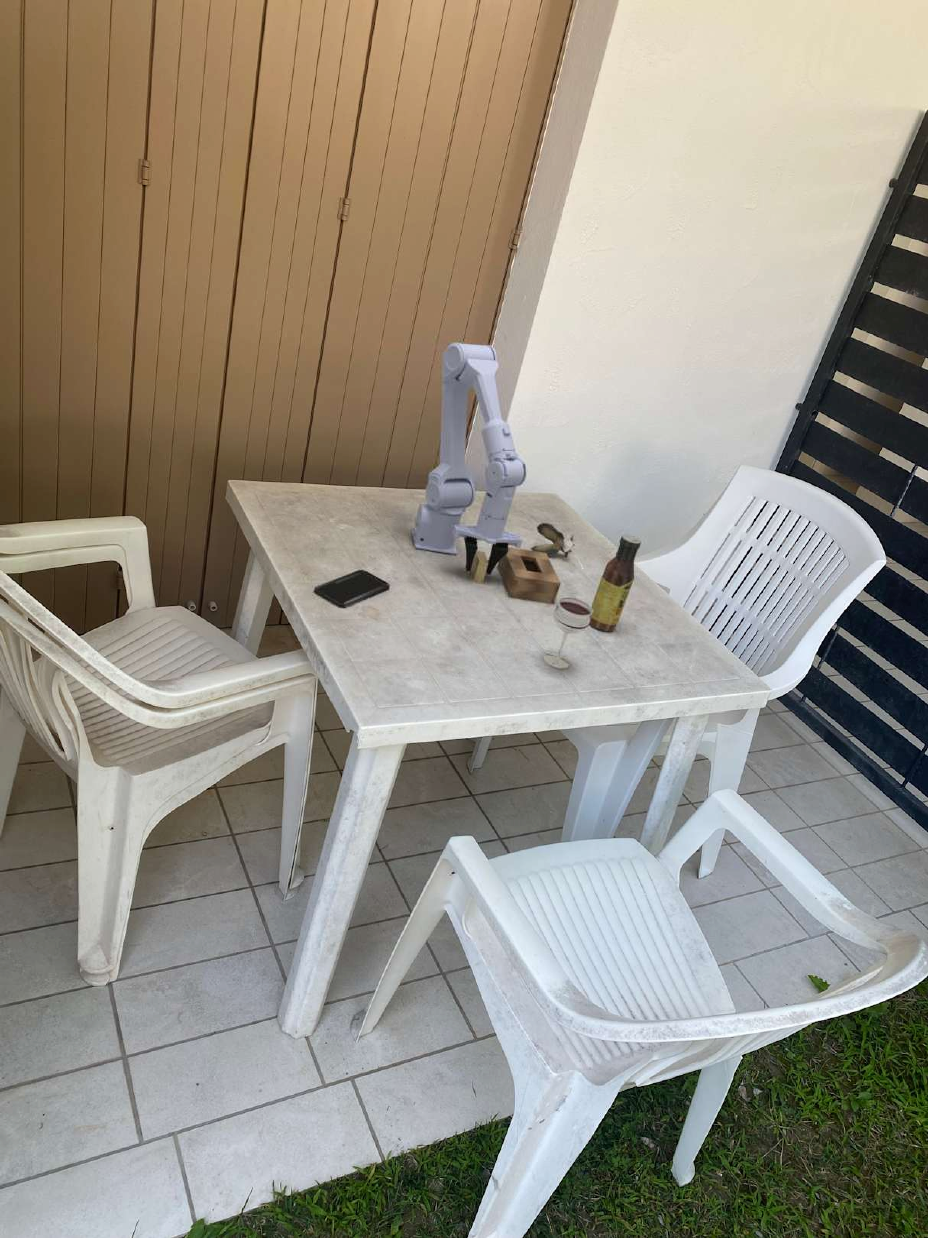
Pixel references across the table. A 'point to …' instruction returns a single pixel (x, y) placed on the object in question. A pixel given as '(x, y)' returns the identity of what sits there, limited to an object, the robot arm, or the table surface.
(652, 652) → the table surface
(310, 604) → the table surface
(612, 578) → the sauce bottle
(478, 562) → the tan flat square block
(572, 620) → the wineglass
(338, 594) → the phone
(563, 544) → the eagle figurine
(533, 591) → the box
